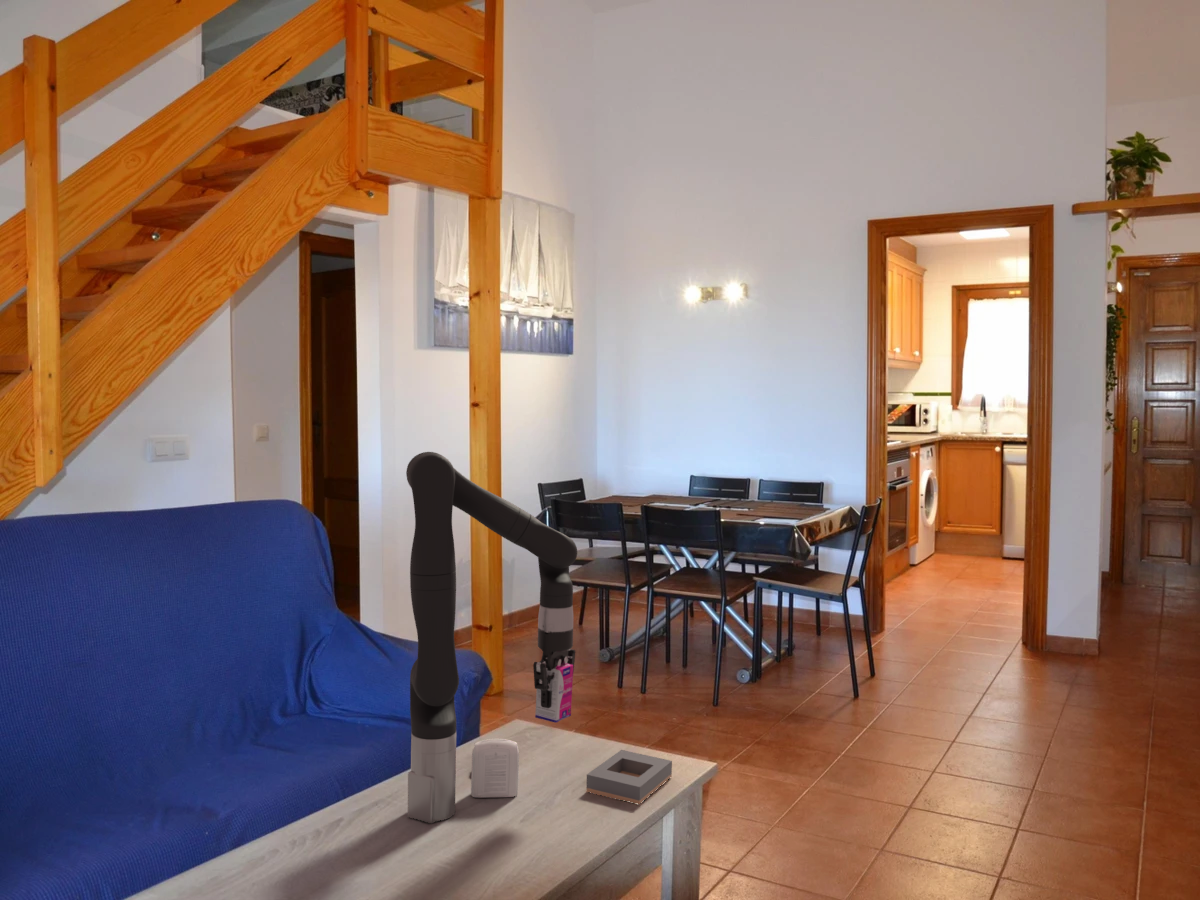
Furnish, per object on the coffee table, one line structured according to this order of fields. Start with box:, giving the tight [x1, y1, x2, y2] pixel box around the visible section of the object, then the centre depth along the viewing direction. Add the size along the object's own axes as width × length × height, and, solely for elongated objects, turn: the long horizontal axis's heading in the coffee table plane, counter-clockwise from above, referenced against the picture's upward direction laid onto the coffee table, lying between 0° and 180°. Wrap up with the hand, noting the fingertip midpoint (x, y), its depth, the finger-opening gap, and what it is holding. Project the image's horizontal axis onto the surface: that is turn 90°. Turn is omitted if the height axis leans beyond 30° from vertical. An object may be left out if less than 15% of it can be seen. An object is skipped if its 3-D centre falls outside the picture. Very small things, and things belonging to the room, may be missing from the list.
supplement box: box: [534, 664, 574, 724], centre depth 209 cm, size 6×6×12 cm
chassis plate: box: [585, 749, 673, 805], centre depth 219 cm, size 17×13×4 cm
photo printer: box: [470, 738, 520, 798], centre depth 212 cm, size 10×4×12 cm, turn 98°
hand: (553, 702), depth 209 cm, fingers closed on supplement box, 6 cm apart
